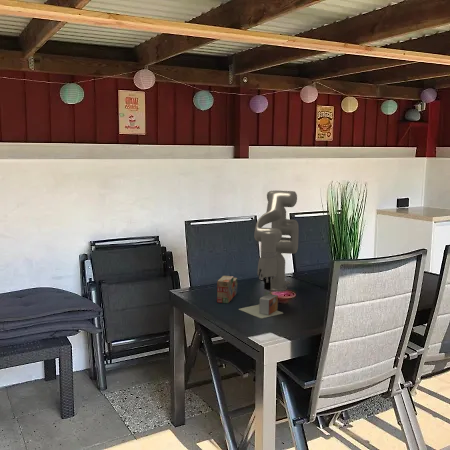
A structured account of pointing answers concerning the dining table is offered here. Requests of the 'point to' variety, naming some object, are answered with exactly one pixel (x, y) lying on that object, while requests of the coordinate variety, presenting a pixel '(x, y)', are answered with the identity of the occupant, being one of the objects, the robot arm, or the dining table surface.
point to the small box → (268, 304)
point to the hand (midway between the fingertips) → (267, 289)
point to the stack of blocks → (226, 289)
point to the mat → (255, 312)
